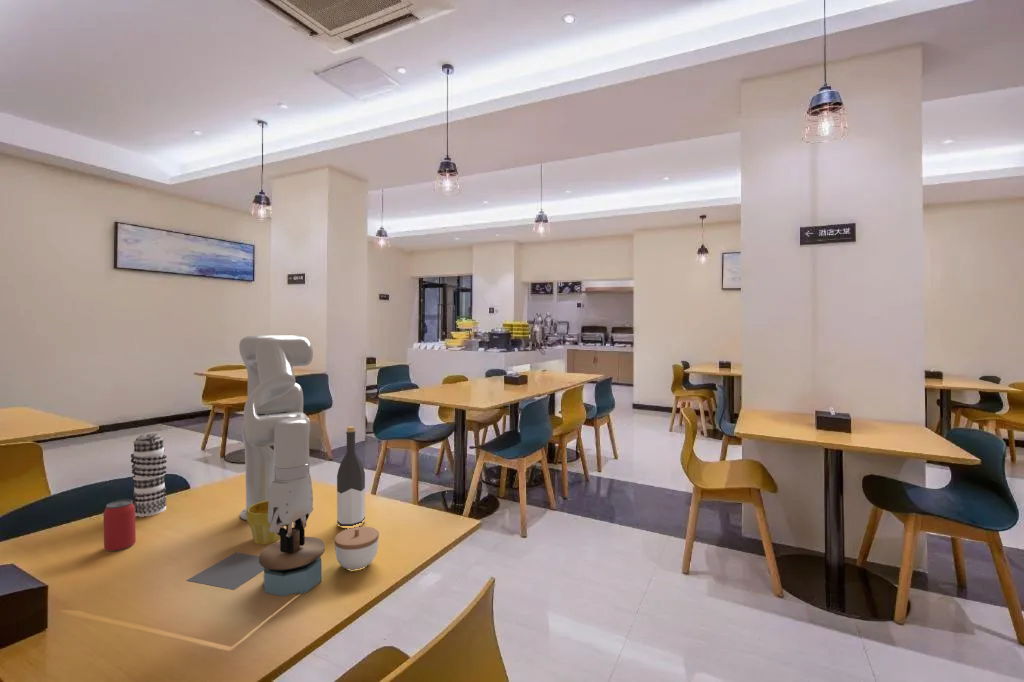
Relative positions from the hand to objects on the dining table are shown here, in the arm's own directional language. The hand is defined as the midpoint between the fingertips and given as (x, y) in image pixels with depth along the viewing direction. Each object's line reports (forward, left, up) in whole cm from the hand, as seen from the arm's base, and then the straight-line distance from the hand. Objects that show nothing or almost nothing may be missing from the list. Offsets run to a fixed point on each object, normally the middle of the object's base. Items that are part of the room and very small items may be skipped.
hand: (292, 547), depth 109 cm
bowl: (0, 0, -8) cm, 8 cm away
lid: (0, 0, -2) cm, 2 cm away
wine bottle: (-32, -6, -9) cm, 34 cm away
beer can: (-2, -58, -9) cm, 59 cm away
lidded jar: (-11, +10, -9) cm, 17 cm away
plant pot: (-16, -22, -9) cm, 29 cm away
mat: (0, -17, -8) cm, 19 cm away
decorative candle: (-22, -74, -9) cm, 78 cm away
